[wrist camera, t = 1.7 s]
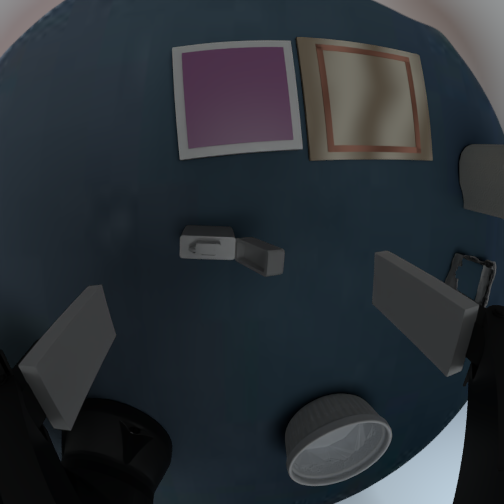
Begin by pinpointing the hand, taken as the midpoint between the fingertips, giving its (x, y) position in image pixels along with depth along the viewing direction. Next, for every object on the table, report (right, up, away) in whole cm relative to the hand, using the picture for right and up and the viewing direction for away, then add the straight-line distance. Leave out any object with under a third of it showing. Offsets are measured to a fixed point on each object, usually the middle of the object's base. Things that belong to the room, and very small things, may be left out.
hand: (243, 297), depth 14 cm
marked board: (+12, +17, +11) cm, 23 cm away
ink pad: (-1, +15, +10) cm, 18 cm away
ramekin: (+10, -20, +21) cm, 31 cm away
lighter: (-2, +4, +13) cm, 14 cm away
